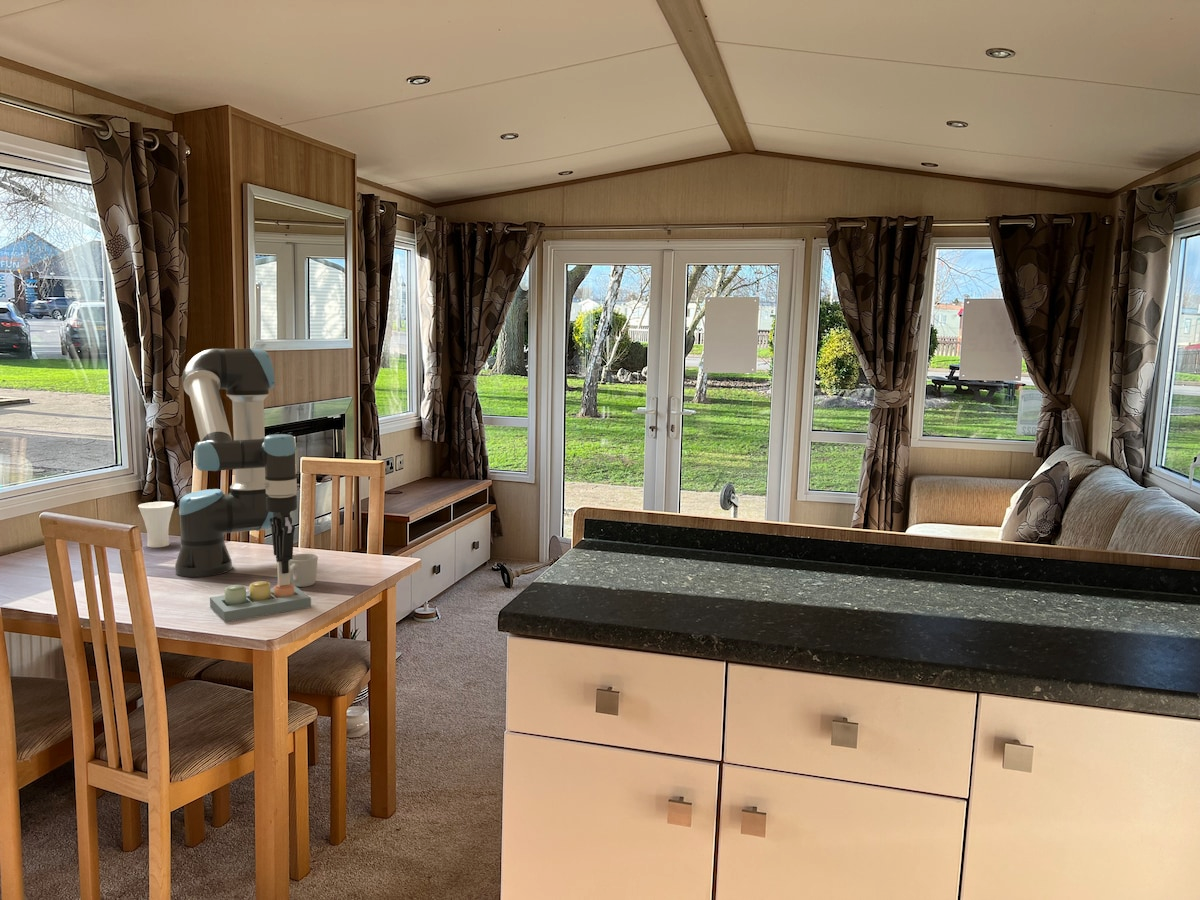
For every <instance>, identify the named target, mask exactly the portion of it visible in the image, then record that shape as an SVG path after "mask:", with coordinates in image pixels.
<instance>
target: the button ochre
mask: <svg viewBox="0 0 1200 900" xmlns="http://www.w3.org/2000/svg"><path fill="white" fill-rule="evenodd" d="M271 588H272V587H271V583H270V582H269V581H265V580H262V581H261V580H260V581H259V580H258V581H254V582H251V583H250V584H249V591H250V601H253V602H256V601H262V600H268V599H271Z"/></svg>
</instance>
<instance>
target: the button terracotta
mask: <svg viewBox="0 0 1200 900" xmlns="http://www.w3.org/2000/svg"><path fill="white" fill-rule="evenodd" d="M273 587H274V596H275V597H276V598H280V597H286V596H292V595H294V585H293V584H291V583H290V585H283V586H279V585H278V583H277V584H276V585H274V586H273Z"/></svg>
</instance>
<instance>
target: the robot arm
mask: <svg viewBox="0 0 1200 900" xmlns="http://www.w3.org/2000/svg"><path fill="white" fill-rule="evenodd" d="M182 371H183V372H182V374H181V375H182V376H181V377H182V378H181V382H182V386H183V390H184V392H185V393H186V394H187V395H188V396H189V399H190V403H191V408H192V411H193V417H194V420H195V424H196V428H197V429H196V430H197V434H198V437H199V441H197V442H196V443H195V444H194V459H195V460H194V462H195V466H196V468H197V469H196V470H198V471H203V472H206V471H207V472H208V471H209V472H211V471H212V472H217V471H227V470H228V471H229V470H234V479H235V480H234V482H233V483H232V484H231V485H230V486H229V491H230V492H229V493H224V492H223V490H222V489H219V488H212V489H211V488H209V489H202V490H197V491H192V492H190V493H187V494H184V496H183V495H182V497H181V498H180V500H179V511H178V515H179V523H180V549H179V552H178V554H177V555H178V556H177V558H176V561H175V566H174V567H175V568H174V570H175V574H176V575H178V576H181V577H189V578H191V577H192V578H195V577H196V578H199V577H200V578H201V577H210V576H216V575H220V574H224V573H226V572H230V571H231V570H232V569H233V561H232V558H231V556H230V553H229V550H228V548H227V544H226V542H225V541H226V539H225V534H231V533H232V534H233V533H242V532H243V533H244V532H251V531H252V532H253V531H256V532H259V531H262V530H270V529H271V539H272V547H273V556H275V559H276V565H277V566H276V567H277V568H276V569H277V584H278V585H279V586H283V585H290V584H291V582H290V562H289V560H291V559H292V558H293V555H294V540H295V539H294V538H295V537H294V536H295V531H296V530H295V529H296V525H295V524H293V518H292V517H291V512H294V511H296V510H297V509H298V498H297V497H298V496H297V495H296V494H297V493H298V488H297V487H298V481H297V459H296V458H297V457H296V455H297V453H296V451H297V447H296V439H295V437H294V435H292V434H286V433H279V434H278V433H277V434H268V435H266V434H265V432H266V431H265V405H264V401H265V399H266V398H267V397H269V394H270V392H269V391H270V390H271V389H273V388H274V387H275V384H276V383H275V381H276V379H275V378H276V377H275V372H274V366H273V361H272V358H271V357H270V355H269V353H268V352H267V351H266V350H264V349H257V348H209V349H205V350H202V351H201V352H198V353H197V354H195V355H194V356H193V357H192V358H191V359H190V360H189V361H188V362H187V363H186V365H185V368H184V369H183V370H182ZM220 390H226V391H225V392H226V397H228V398H229V399H230V400H231V402H232V423H233V424H232V425H233V426H232V427H233V428H232V429H233V438H232V434H231V431H230V426H229V423H228V420H227V415H226V412H225V408H224V405H223V401H222V398H221V394H220ZM265 435H266V436H265Z"/></svg>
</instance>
